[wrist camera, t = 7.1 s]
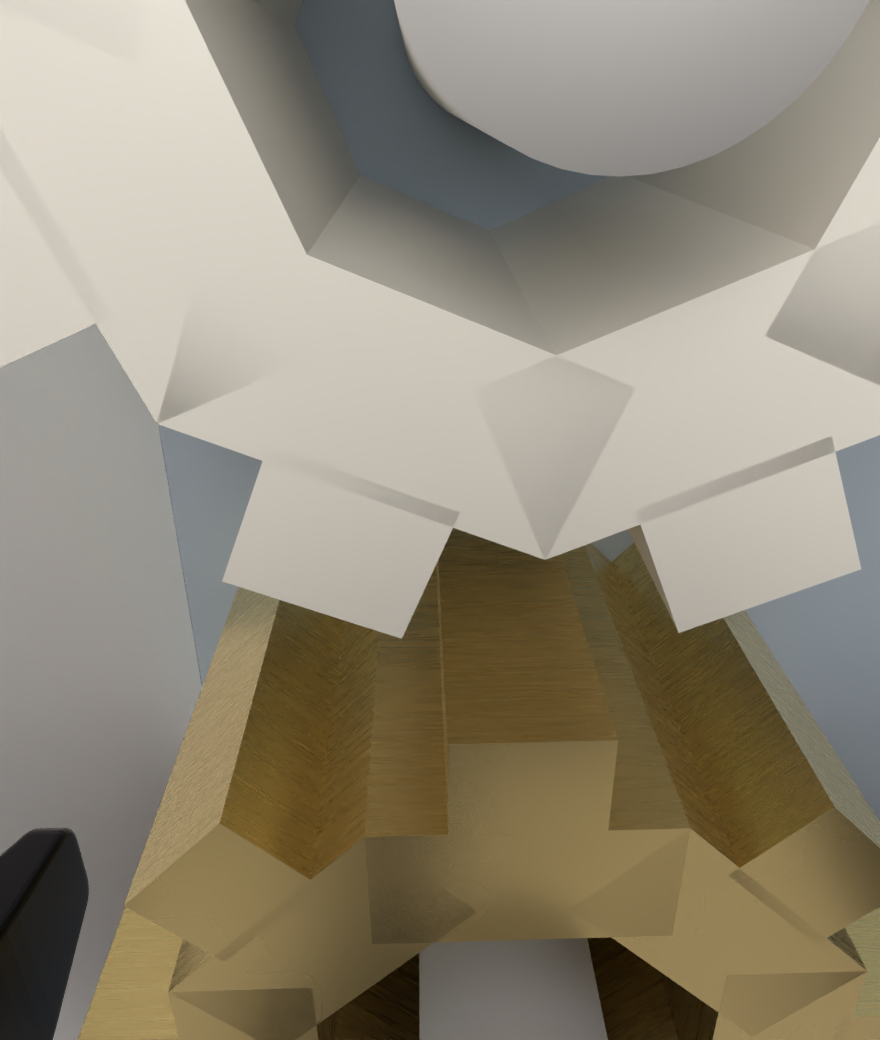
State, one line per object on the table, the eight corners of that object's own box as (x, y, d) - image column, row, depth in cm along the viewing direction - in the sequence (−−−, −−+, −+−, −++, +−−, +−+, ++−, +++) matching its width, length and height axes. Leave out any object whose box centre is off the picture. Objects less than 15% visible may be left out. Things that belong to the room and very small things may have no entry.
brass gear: (796, 464, 9) (1068, 728, 5) (711, 897, 13) (846, 1262, 9) (166, 475, 9) (-18, 756, 5) (239, 911, 12) (158, 1288, 9)
